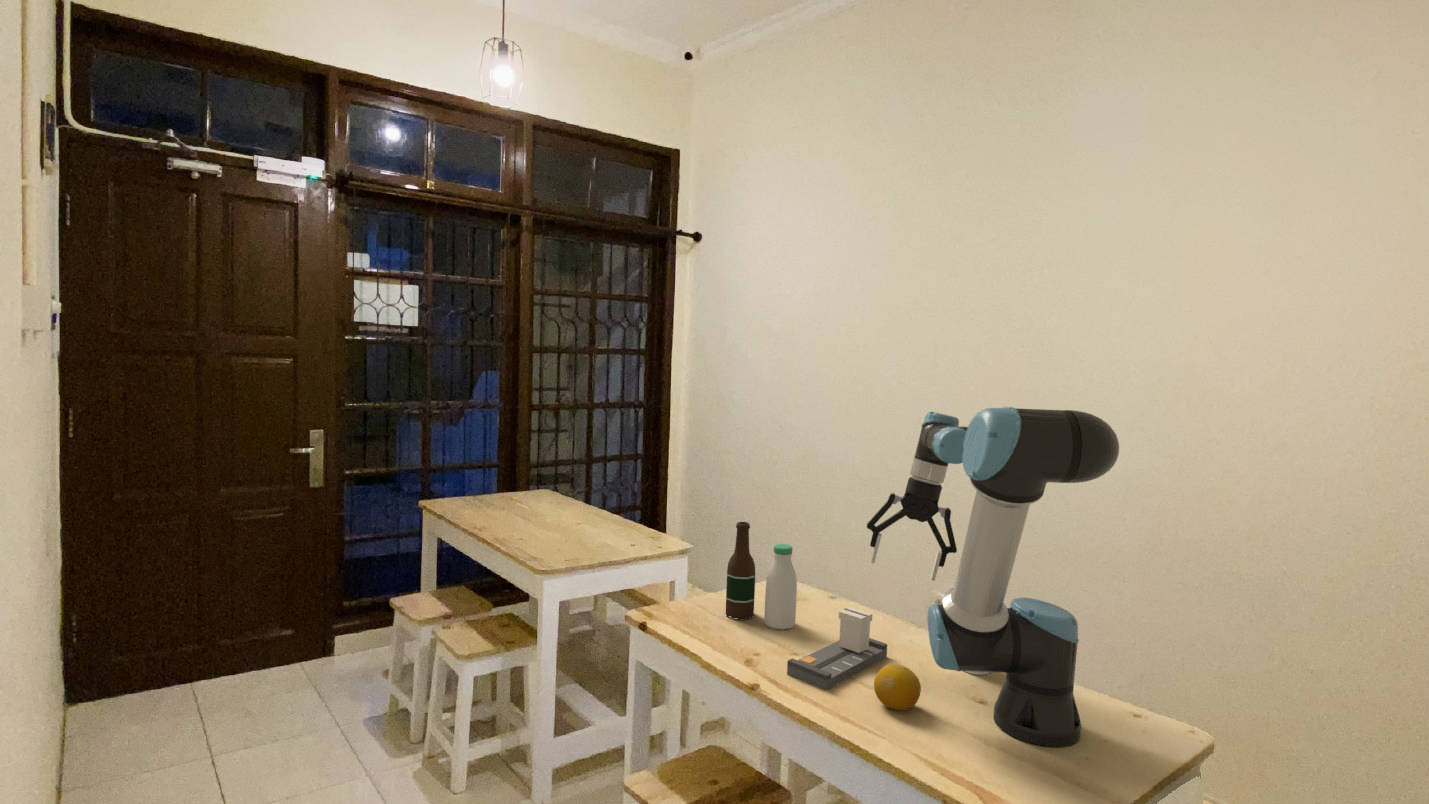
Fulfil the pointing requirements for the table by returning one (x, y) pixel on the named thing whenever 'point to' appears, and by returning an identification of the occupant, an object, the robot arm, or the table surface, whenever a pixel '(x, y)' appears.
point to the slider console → (835, 663)
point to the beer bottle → (741, 577)
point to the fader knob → (854, 629)
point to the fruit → (897, 687)
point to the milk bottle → (781, 590)
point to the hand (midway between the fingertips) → (902, 570)
